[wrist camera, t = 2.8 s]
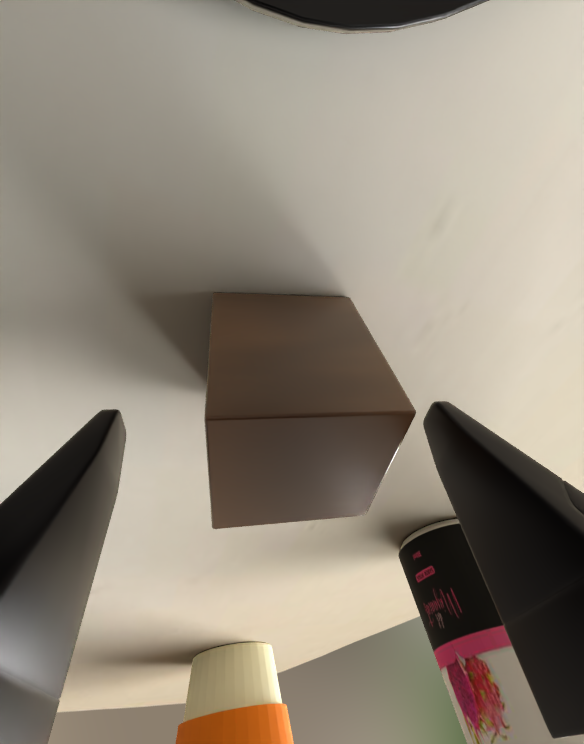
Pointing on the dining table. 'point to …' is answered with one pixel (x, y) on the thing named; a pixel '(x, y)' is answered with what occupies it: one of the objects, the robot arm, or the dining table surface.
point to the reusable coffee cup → (235, 698)
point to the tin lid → (359, 13)
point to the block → (297, 410)
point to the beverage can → (471, 640)
